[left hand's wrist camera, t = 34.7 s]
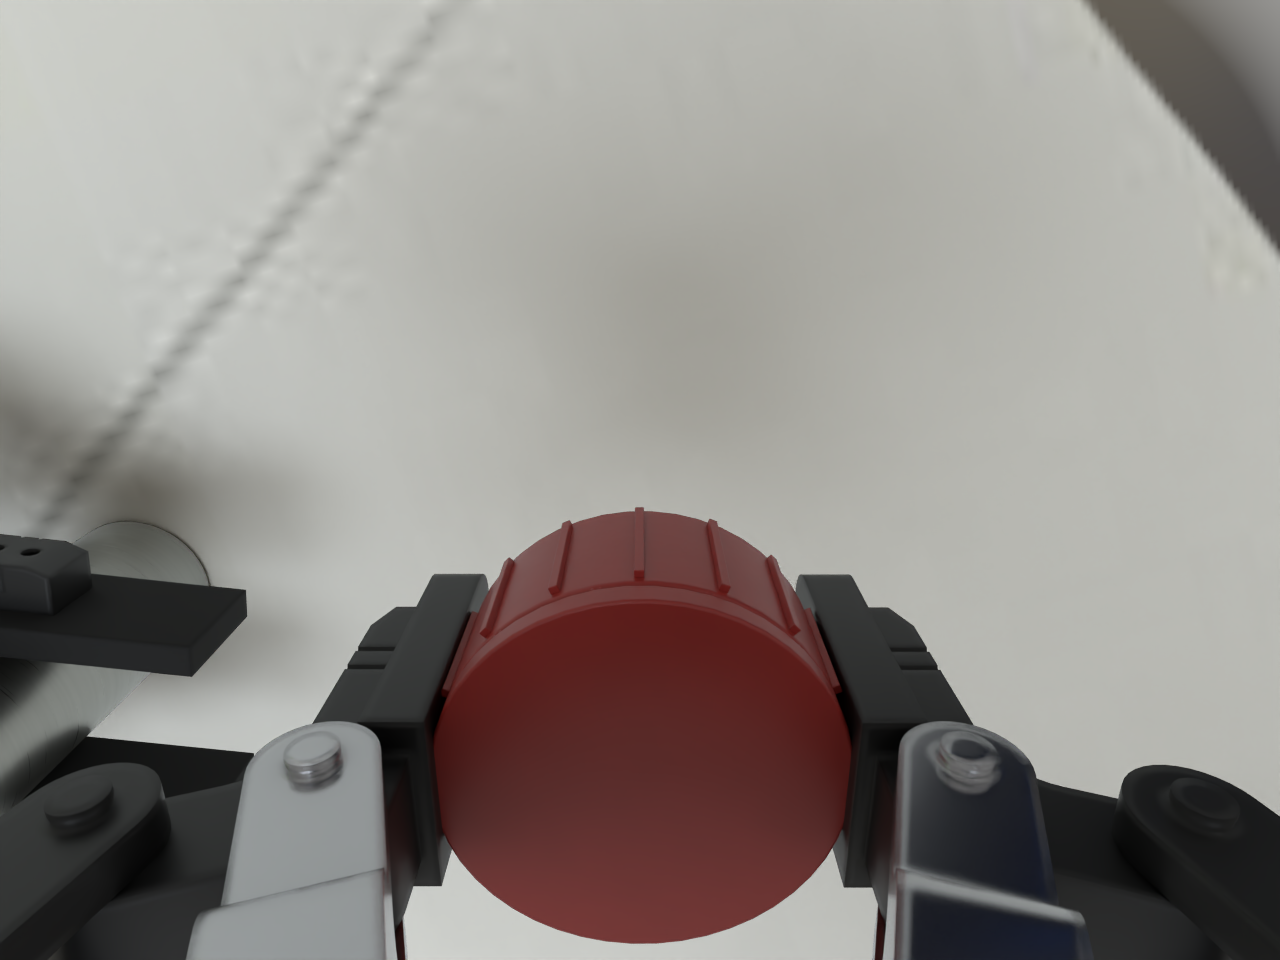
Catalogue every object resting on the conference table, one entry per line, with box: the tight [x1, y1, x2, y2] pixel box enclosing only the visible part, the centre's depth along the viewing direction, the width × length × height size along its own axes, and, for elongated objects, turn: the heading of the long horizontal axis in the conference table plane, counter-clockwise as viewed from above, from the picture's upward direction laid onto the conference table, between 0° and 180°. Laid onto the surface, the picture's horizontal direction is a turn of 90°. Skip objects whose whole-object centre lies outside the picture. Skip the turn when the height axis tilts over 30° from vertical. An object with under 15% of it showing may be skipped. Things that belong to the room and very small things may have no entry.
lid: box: [433, 507, 852, 944], centre depth 10 cm, size 5×5×2 cm
